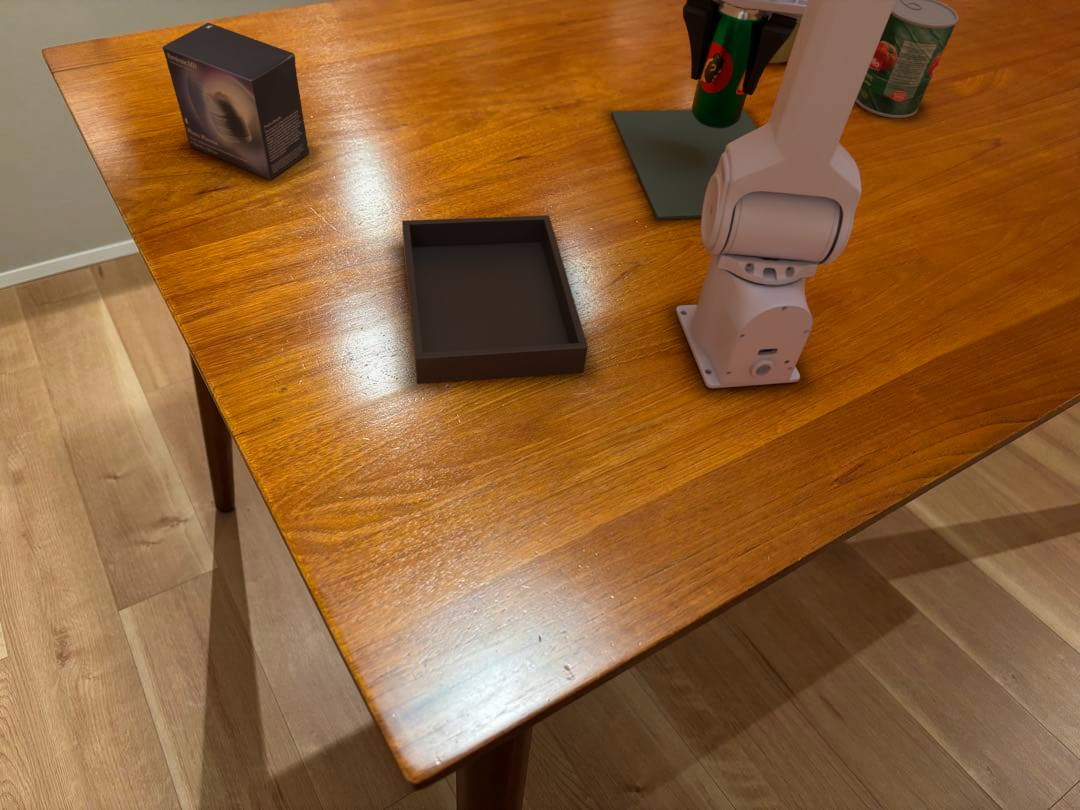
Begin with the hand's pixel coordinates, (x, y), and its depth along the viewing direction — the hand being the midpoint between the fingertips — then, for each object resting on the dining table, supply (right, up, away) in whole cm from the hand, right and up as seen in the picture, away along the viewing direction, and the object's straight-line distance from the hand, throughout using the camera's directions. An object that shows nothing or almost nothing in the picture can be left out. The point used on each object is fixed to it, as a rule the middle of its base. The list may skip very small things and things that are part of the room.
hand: (723, 83), depth 81 cm
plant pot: (+11, +14, +25) cm, 30 cm away
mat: (-1, -6, +7) cm, 9 cm away
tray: (-23, -23, -11) cm, 35 cm away
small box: (-47, -6, +1) cm, 48 cm away
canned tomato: (+24, +5, +19) cm, 31 cm away
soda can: (0, -3, +3) cm, 4 cm away
